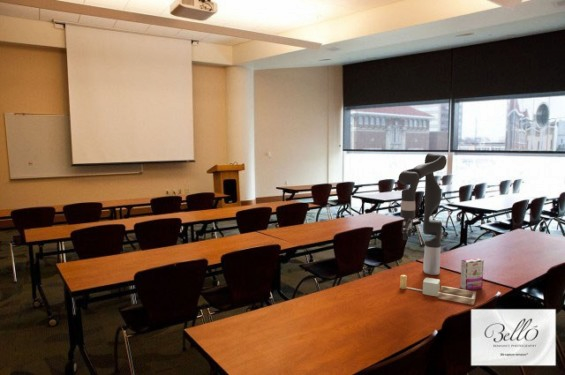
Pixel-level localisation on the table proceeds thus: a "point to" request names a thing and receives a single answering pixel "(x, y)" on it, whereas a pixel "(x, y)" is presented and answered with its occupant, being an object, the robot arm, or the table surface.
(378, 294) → the table surface
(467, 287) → the candy bar box
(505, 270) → the table surface
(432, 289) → the tethered block
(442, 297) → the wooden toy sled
